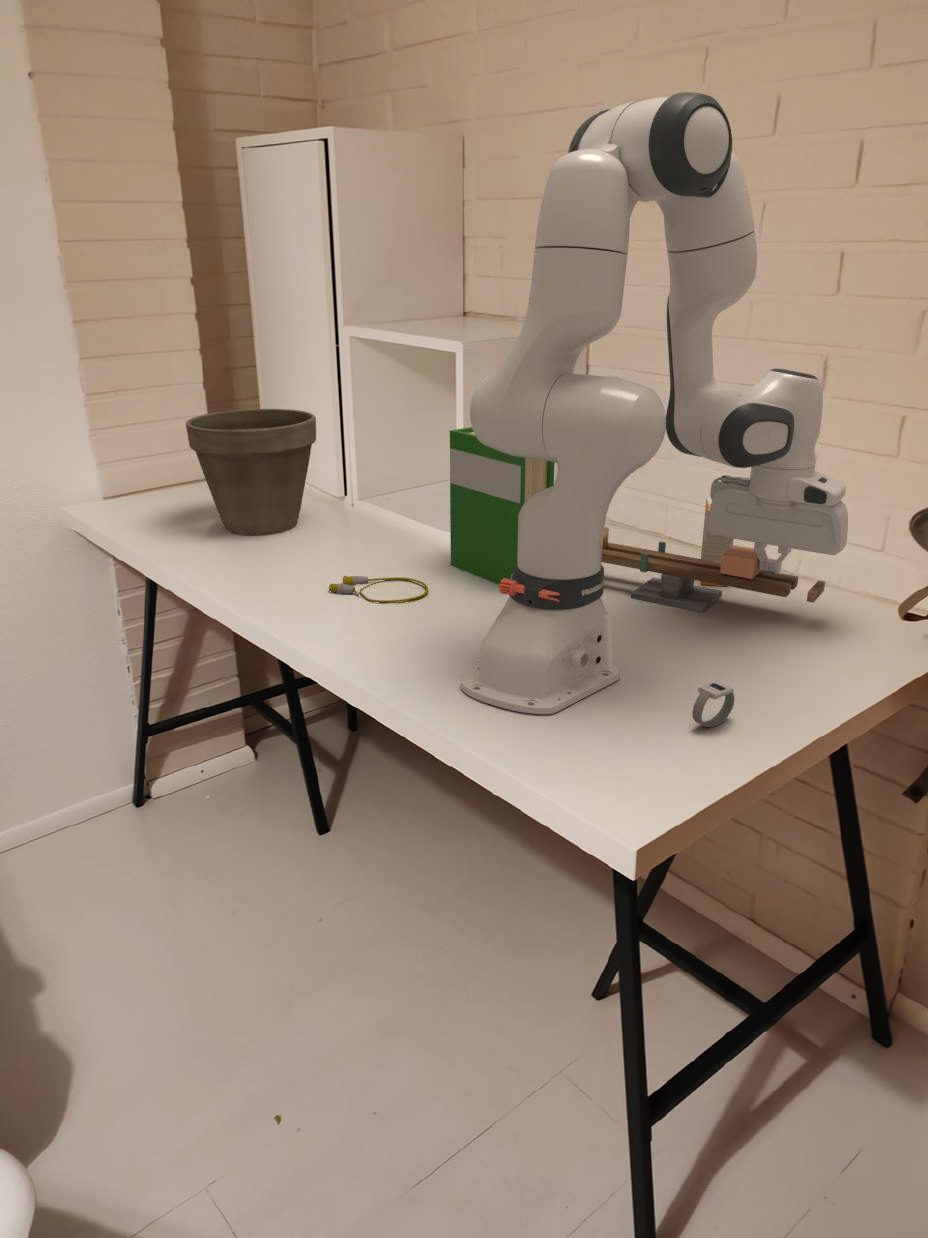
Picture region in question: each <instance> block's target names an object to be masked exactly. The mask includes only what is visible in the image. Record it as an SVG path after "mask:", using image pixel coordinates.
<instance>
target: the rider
mask: <svg viewBox="0 0 928 1238" xmlns="http://www.w3.org/2000/svg"><path fill="white" fill-rule="evenodd" d="M766 551H767V550H765V552H766ZM759 565H760V560H759V559H758V557H757V554H756V552H755V550H754V547H746V546H741V545H734V544H733V546H732V547H731V548H730V549H728V550H727V551H726V552H725V553H723V554H722V559H721V568H720V573H722V574H728V575H733V576H738V577H744V578H749V579H753V578H754V577H755V576H756V575H757V574H758V573H760V572H761V571H759Z"/></svg>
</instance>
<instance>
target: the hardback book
mask: <svg viewBox="0 0 928 1238" xmlns="http://www.w3.org/2000/svg"><path fill="white" fill-rule="evenodd" d="M555 464H556V463H555V462H551V461H544V460H537V459H530V458H523V457H516V456H511V455H508V454H506V453H503V452H500V451H498V450H495V449H493V448H490V447H488V446H486V445H483V444H482V443H481V442H480V441H479V440H478V439H477V437H476V435H475V433H474V431H473V428H472V426H471V427H470V426H469V427H464V428H458V429H451V430H449V475H450V476H449V491H450V492H449V496H450V497H449V498H450V499H449V503H450V505H449V507H450V508H449V512H450V518H449V519H450V522H449V523H450V526H449V527H450V566H451V567H453V568H456V569H459V570H461V571H463V572H465V573H468V574H471V575H473V576H476V577H478V578H481V579H484V580H485V581H489V582H490V583H491V582H492V583H494V584H497V585H499V586H500V583H502V582H501V580H502V579H503V578H506V579H509V580H511V575H512V573H513V570H514V566H515V564H516V563H517V549H518V515H519V512H520V510H521V508H522V506H523V504H524V503H525V502H526V501H527V499H529V498H530V497H531V496H532V495H534V494H536V493H538V492H540V491H542V490H544V489H547V488H549V487H552V486H554V484H555Z"/></svg>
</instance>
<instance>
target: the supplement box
mask: <svg viewBox="0 0 928 1238" xmlns="http://www.w3.org/2000/svg"><path fill="white" fill-rule="evenodd" d="M705 501H706V502H705V510H704V511H705V512H704V522H703V532H702V542H701V552H700V559H703V560H709V561H714V562H720V563H721V559H722V554H723V553H725V552H726V551H727V550H728V549H730V548H731V547H732V546H734V539H733V538H727V537H721V536H715V535H711V534H710V533H709V531H708V530H707V519H708V514H709V510H710V506H711V503H712V499H711V497H707V498H706V500H705ZM700 585H704V586H714V587H715V586H718V587H720V586H721V587H725V586H724V585H718V584H713V583H708V582H703V581H700Z"/></svg>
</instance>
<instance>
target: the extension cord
mask: <svg viewBox="0 0 928 1238" xmlns="http://www.w3.org/2000/svg"><path fill="white" fill-rule="evenodd" d="M391 580H403V582H408V581H409V583H412V584H415V585H417V586H419V587H421V588H423V589H424V590H425V592H424V593H422V594H420V595H418V596H413V597H409V598H403V599H392V600H391V599H390V600H389V599H388V600H387V599H384V600H381V599H380V600H379V599H372V598H369V597H367V596H366V595H365V594H364V593H363V592H362V591H364V590H365V589H367V588H368V587H371V586H373V584H374V585H377V584H379V583H380V582H381V583H385V581H386V582H392V581H391ZM404 580H405V581H404ZM374 581H376V582H374ZM369 582H373V583H370V584H368V583H369ZM343 583H344V584H343ZM363 583H366V584H367V585H366V586H364V587H362V588H360V589H359V590H360V592H359V593H358V591H356V588H355V586H357V585H356V584H361V585H364V584H363ZM376 583H377V584H376ZM381 583H380V584H381ZM370 585H371V586H370ZM366 587H367V588H366ZM364 588H365V589H364ZM361 590H362V591H361ZM329 591H331V592H337V593H353V592H355V593H354V594H355V595H356V596H357V597H358V596H359V595H360V596H362V597H363V598H364V599H365V600H366V601H369V602H370V601H372V602H371V603H373V602H379V603H378V604H386V603H398V604H406V603H405V602H408V603H411V601H412V602H416V601H419V600H421V599H423V598H425V597H426V596H428V595H429V593H428V592H429V588H428V585H427V584H426V583H425V582H423V581H421V580H418V579H415V578H409V577H381V578H380V577H379V578H369V577H368V576H361V575H352V576H348V575H344V576H343V577H342V583H330V584H329V586H328V592H329ZM337 593H336V594H337ZM418 599H419V600H418ZM415 600H416V601H415Z"/></svg>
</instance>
